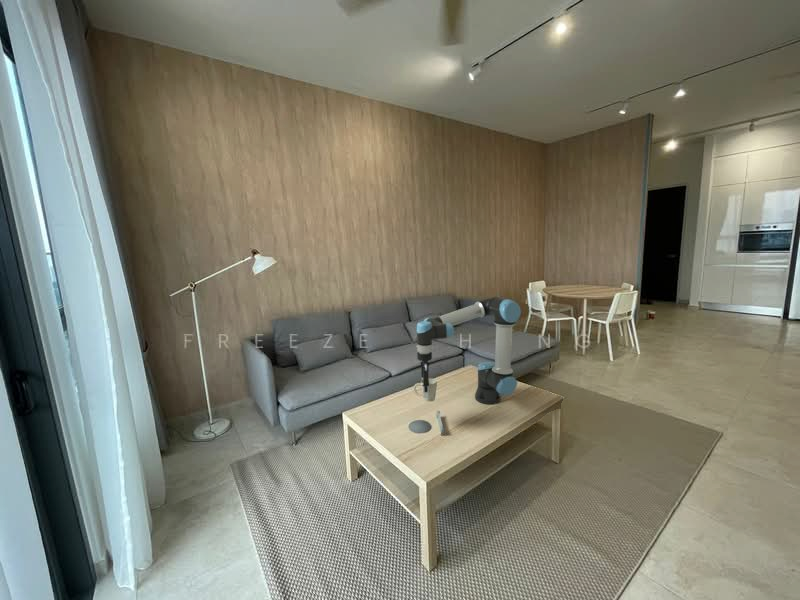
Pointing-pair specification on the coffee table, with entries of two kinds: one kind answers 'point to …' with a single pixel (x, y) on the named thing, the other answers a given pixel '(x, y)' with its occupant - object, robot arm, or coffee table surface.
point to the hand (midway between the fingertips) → (425, 393)
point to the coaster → (419, 426)
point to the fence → (440, 423)
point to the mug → (431, 389)
